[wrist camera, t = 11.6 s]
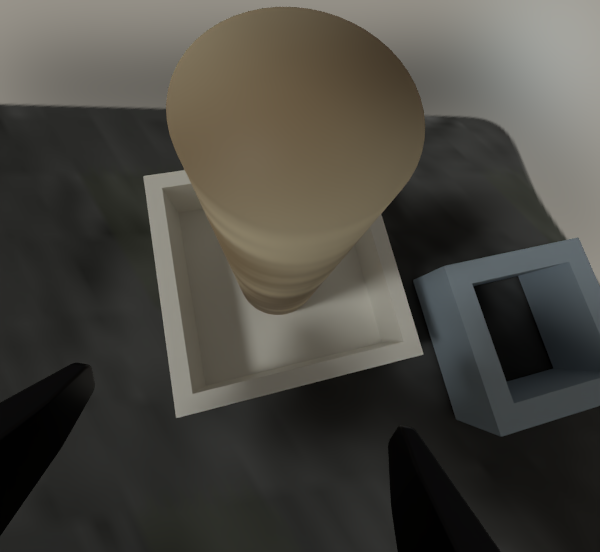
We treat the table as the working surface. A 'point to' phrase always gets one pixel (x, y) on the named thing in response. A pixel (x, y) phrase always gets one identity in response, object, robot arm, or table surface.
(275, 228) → the birch dowel
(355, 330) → the tray
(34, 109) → the table surface
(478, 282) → the socket block
